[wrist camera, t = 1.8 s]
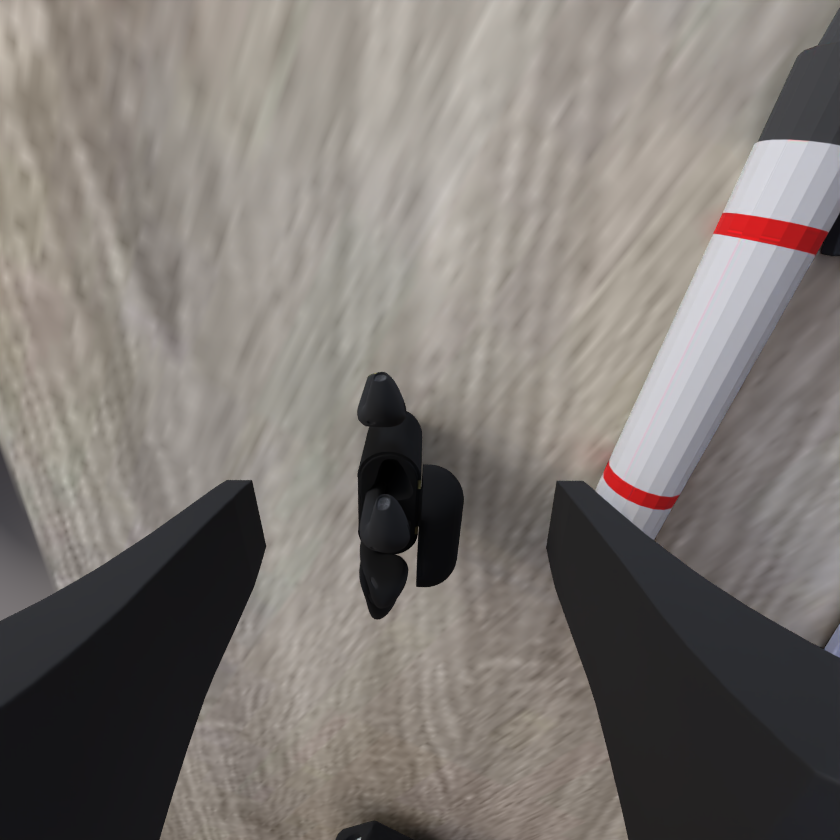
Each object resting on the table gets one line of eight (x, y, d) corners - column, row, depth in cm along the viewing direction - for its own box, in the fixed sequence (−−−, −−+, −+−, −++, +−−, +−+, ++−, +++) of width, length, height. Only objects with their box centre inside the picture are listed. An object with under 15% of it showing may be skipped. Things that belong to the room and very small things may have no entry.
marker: (618, 543, 15) (643, 590, 13) (562, 533, 15) (580, 579, 13) (943, -78, 8) (1082, -149, 7) (846, -107, 8) (961, -187, 6)
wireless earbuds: (370, 332, 12) (336, 418, 8) (464, 337, 12) (485, 425, 8) (369, 535, 15) (345, 678, 11) (443, 538, 15) (450, 684, 11)
